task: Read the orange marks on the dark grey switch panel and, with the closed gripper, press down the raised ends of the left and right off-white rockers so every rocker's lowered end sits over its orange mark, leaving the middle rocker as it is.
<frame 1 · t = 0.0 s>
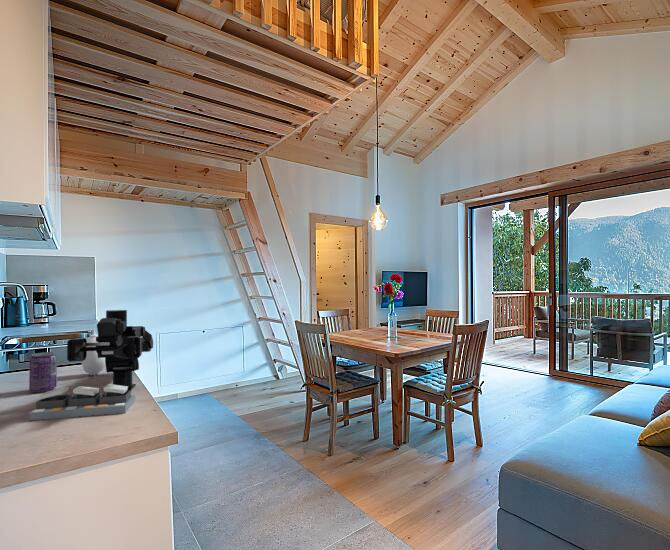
hand: (95, 354, 102), 17 cm above the counter, tool horizontal, fingers open, 9 cm apart
middle rocker: (86, 390, 106), point 5 cm above the counter, hinge at -12.0°
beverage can: (43, 390, 125), on the counter
right rocker: (116, 388, 108), point 5 cm above the counter, hinge at -12.0°
left rocker: (54, 392, 104), point 5 cm above the counter, hinge at 12.0°
switch panel: (85, 410, 106), on the counter
sauce bottle: (94, 375, 145), on the counter
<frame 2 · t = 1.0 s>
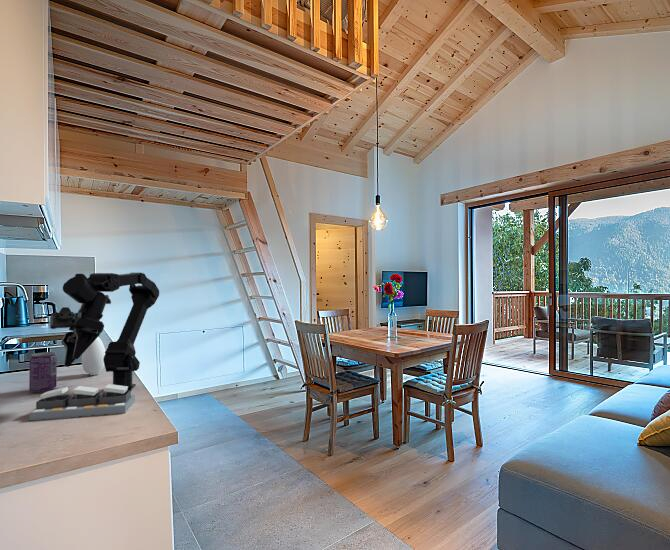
hand: (70, 362, 103), 14 cm above the counter, tool tilted 30°, fingers open, 9 cm apart
nothing on the counter moved.
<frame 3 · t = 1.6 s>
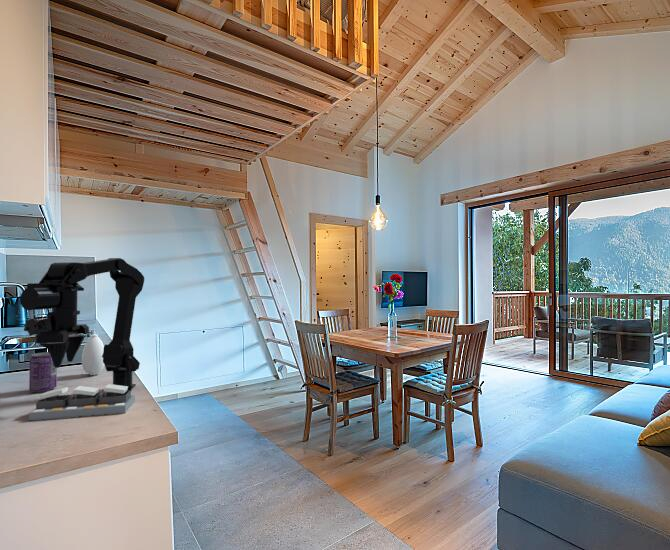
hand: (63, 364, 105), 13 cm above the counter, tool pointing down, fingers open, 8 cm apart
nothing on the counter moved.
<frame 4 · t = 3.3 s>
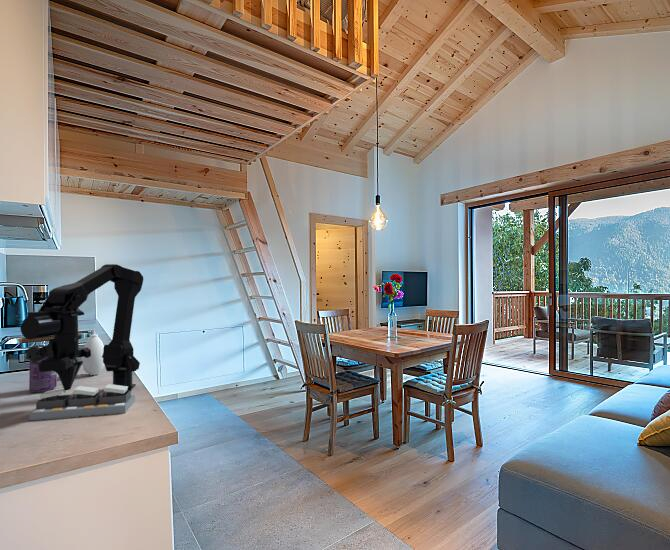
hand: (67, 389, 105), 6 cm above the counter, tool pointing down, fingers closed, pressing on left rocker
left rocker: (54, 392, 104), point 5 cm above the counter, hinge at 9.6°, touching gripper
everything else where it was.
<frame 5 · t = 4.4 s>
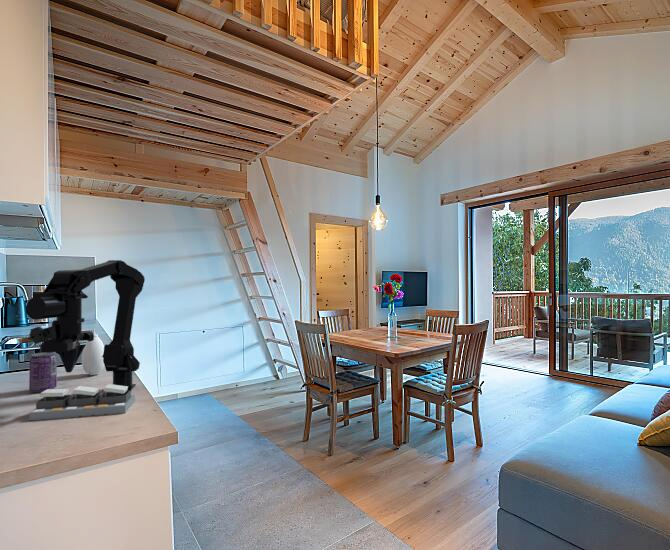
hand: (69, 372, 105), 11 cm above the counter, tool pointing down, fingers closed
left rocker: (55, 392, 104), point 5 cm above the counter, hinge at -3.3°
everything else where it was.
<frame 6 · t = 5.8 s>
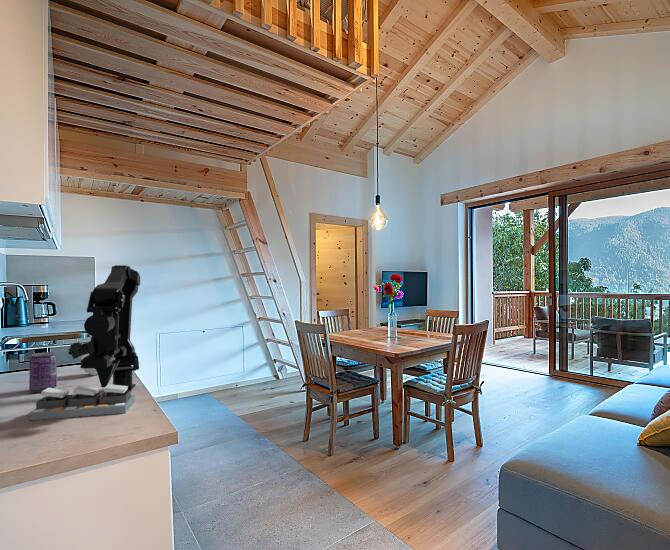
hand: (104, 386, 107), 6 cm above the counter, tool pointing down, fingers closed, pressing on right rocker
right rocker: (116, 388, 108), point 5 cm above the counter, hinge at -10.4°, touching gripper
left rocker: (55, 392, 104), point 5 cm above the counter, hinge at -12.7°
everything else where it was.
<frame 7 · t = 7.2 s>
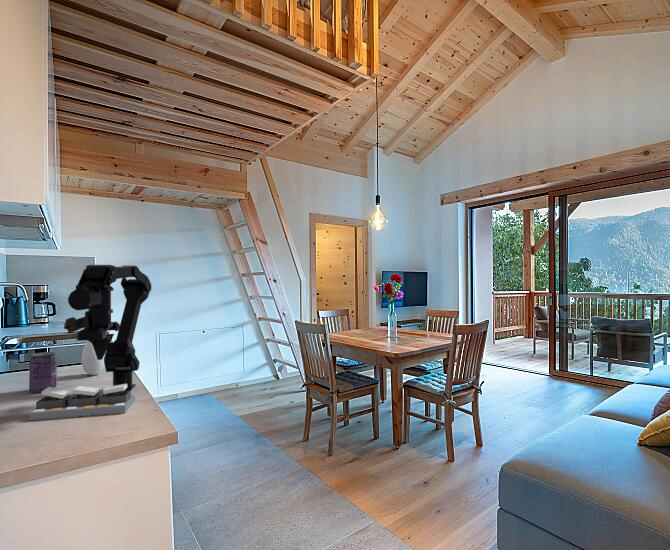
hand: (100, 359, 113), 13 cm above the counter, tool pointing down, fingers closed
right rocker: (115, 388, 108), point 5 cm above the counter, hinge at 6.9°
left rocker: (55, 392, 104), point 5 cm above the counter, hinge at -18.4°
everything else where it was.
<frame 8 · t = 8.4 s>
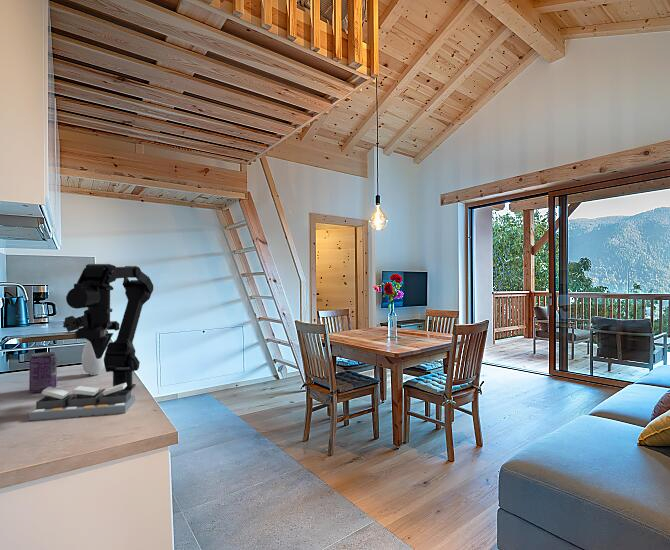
hand: (98, 358, 113), 13 cm above the counter, tool pointing down, fingers closed
right rocker: (115, 388, 108), point 5 cm above the counter, hinge at 15.6°
left rocker: (55, 392, 104), point 5 cm above the counter, hinge at -21.6°
everything else where it was.
at the end: left rocker at -22° (first picture: +12°); middle rocker at -12° (first picture: -12°); right rocker at +17° (first picture: -12°) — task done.
